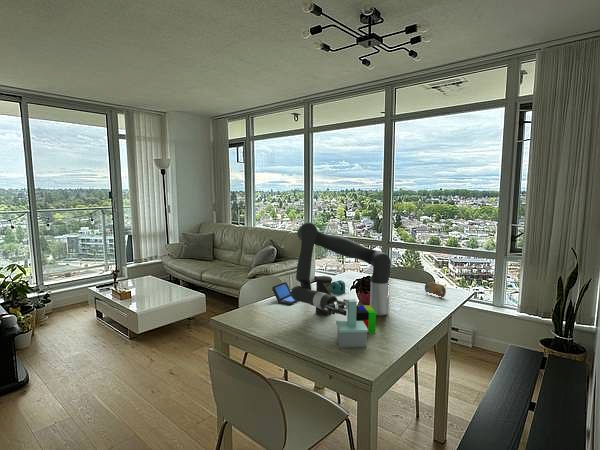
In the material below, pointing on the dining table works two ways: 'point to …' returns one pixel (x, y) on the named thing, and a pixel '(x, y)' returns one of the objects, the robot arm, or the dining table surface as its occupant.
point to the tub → (352, 339)
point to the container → (323, 290)
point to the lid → (351, 320)
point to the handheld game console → (283, 294)
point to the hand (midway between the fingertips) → (352, 310)
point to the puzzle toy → (367, 317)
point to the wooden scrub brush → (435, 288)
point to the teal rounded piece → (338, 287)
